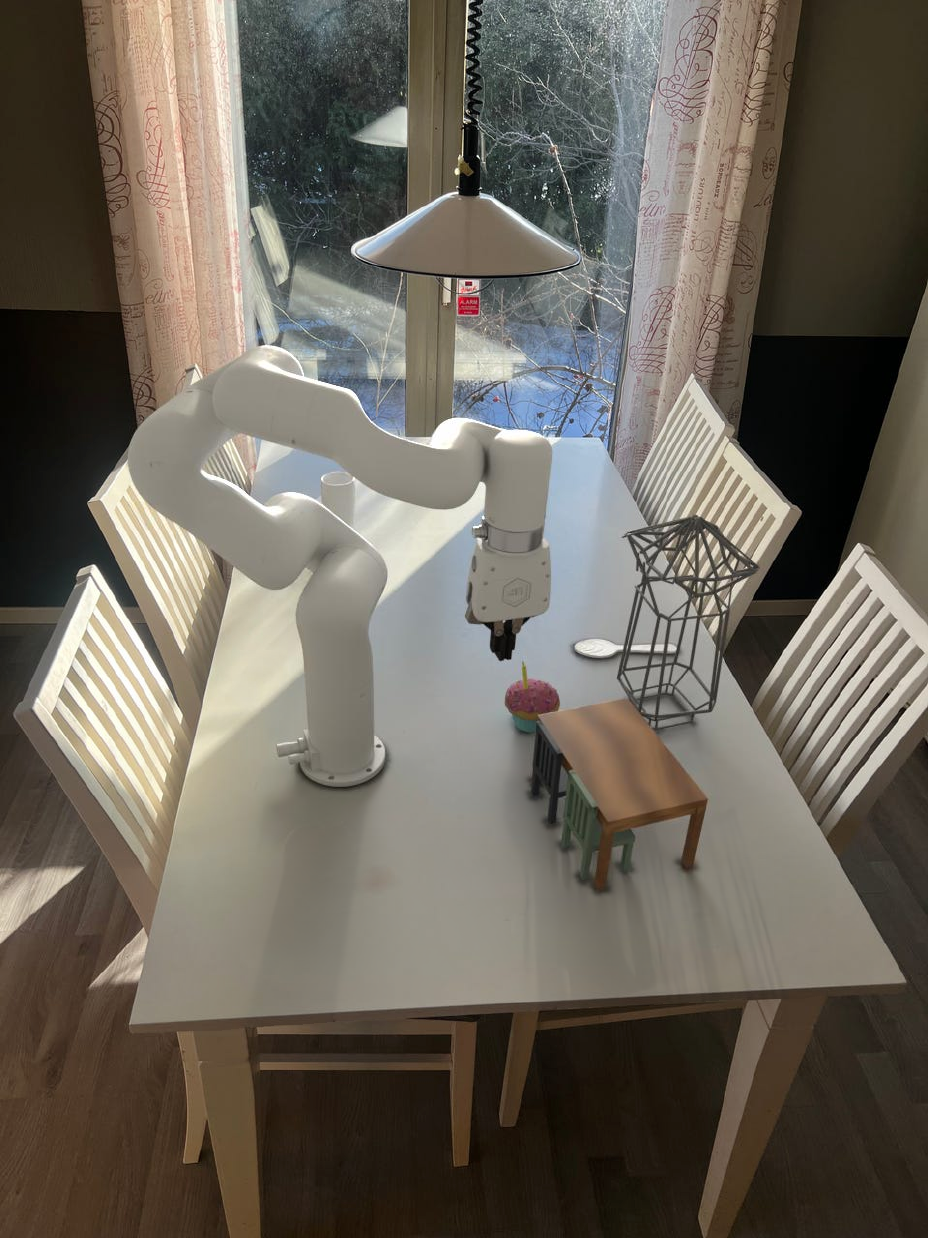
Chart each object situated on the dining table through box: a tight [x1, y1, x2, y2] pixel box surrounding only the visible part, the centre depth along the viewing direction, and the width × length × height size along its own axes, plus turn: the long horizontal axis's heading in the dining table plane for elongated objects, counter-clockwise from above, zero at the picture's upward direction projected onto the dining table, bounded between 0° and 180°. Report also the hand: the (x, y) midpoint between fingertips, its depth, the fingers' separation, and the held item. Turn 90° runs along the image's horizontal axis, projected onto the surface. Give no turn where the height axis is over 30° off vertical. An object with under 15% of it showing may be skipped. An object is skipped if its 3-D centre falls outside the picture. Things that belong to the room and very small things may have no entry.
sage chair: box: [560, 770, 637, 881], centre depth 128 cm, size 7×7×13 cm
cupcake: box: [504, 660, 561, 733], centre depth 152 cm, size 9×8×12 cm
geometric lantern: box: [616, 513, 761, 731], centre depth 149 cm, size 16×16×35 cm
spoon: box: [574, 638, 677, 659], centre depth 173 cm, size 5×18×1 cm, turn 92°
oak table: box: [531, 697, 709, 892], centre depth 134 cm, size 14×22×12 cm, turn 19°
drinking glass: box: [320, 471, 356, 530], centre depth 198 cm, size 7×7×15 cm
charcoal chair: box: [530, 721, 568, 826], centre depth 136 cm, size 7×7×13 cm
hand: (501, 654), depth 131 cm, fingers closed
